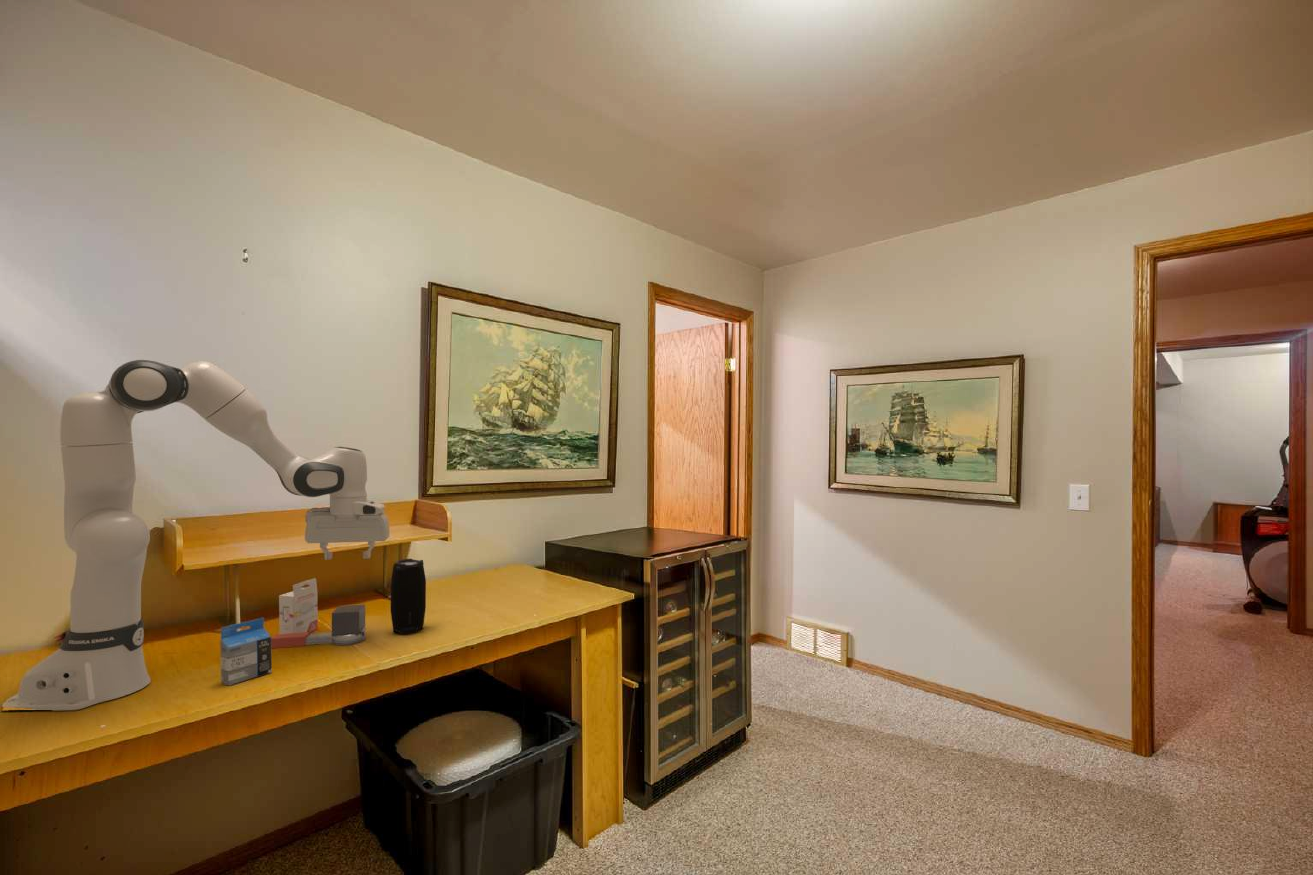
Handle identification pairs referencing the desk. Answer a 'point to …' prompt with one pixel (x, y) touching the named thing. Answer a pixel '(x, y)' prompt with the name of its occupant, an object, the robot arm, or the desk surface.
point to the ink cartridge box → (299, 609)
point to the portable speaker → (408, 596)
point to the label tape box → (245, 652)
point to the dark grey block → (348, 620)
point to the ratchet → (315, 639)
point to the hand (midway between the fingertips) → (347, 558)
